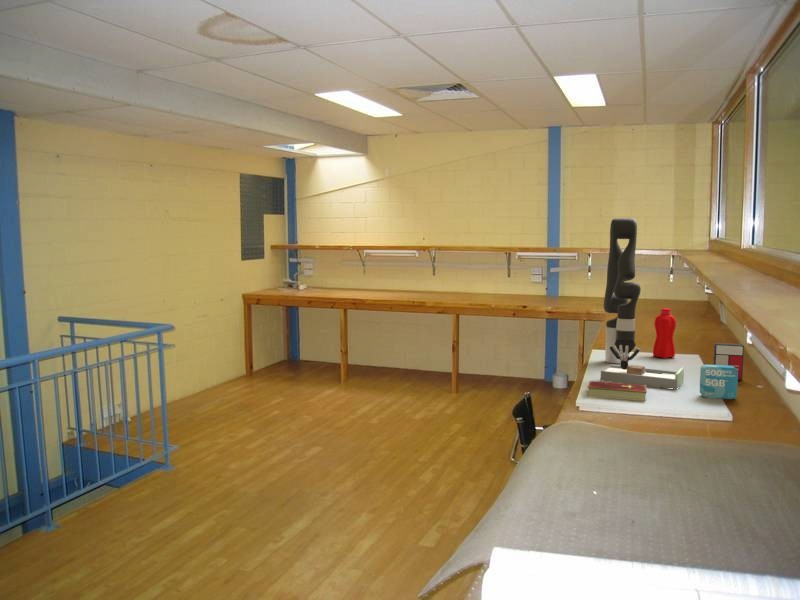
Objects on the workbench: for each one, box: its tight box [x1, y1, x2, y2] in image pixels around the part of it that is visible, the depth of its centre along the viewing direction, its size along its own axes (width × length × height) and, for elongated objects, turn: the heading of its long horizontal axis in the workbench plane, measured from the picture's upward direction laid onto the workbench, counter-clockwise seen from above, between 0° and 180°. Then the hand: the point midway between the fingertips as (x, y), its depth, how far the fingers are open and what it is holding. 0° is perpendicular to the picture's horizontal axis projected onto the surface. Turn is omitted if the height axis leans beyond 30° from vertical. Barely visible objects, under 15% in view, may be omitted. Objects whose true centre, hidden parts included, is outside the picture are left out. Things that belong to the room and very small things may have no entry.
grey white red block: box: [712, 342, 745, 381], centre depth 267 cm, size 11×4×15 cm, turn 70°
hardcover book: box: [587, 380, 648, 402], centre depth 239 cm, size 12×21×4 cm, turn 69°
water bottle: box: [652, 307, 677, 359], centre depth 318 cm, size 9×11×25 cm
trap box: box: [600, 364, 685, 390], centre depth 263 cm, size 17×30×6 cm, turn 57°
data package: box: [699, 364, 739, 400], centre depth 235 cm, size 12×4×12 cm, turn 76°
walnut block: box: [627, 364, 646, 375], centre depth 264 cm, size 6×6×3 cm
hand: (624, 369), depth 266 cm, fingers closed
